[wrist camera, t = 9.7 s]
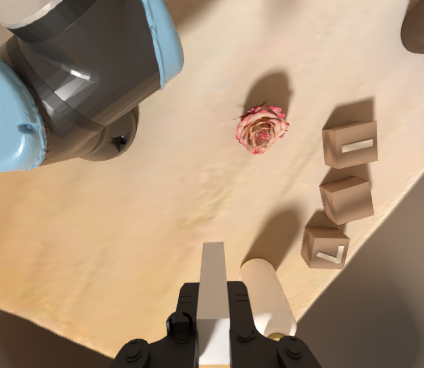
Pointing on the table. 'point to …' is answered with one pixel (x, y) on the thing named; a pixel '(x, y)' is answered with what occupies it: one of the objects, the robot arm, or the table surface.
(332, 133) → the marked block one
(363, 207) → the plain block
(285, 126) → the flower
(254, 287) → the potion bottle
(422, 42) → the plant pot
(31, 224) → the table surface
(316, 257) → the marked block seven
